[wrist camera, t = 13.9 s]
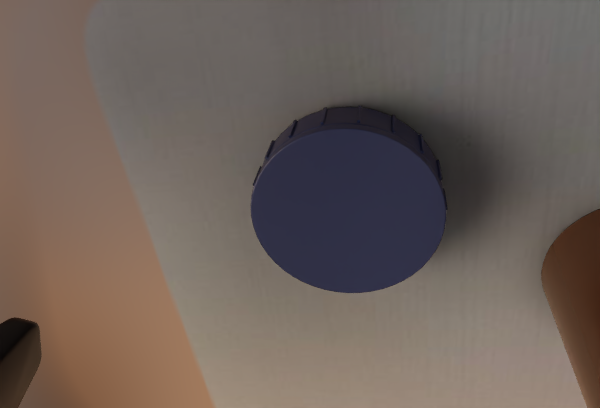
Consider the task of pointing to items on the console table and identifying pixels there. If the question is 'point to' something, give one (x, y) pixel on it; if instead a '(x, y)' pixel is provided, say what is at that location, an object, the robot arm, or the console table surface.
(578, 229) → the jar
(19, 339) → the robot arm
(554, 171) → the console table surface
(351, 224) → the jar lid
